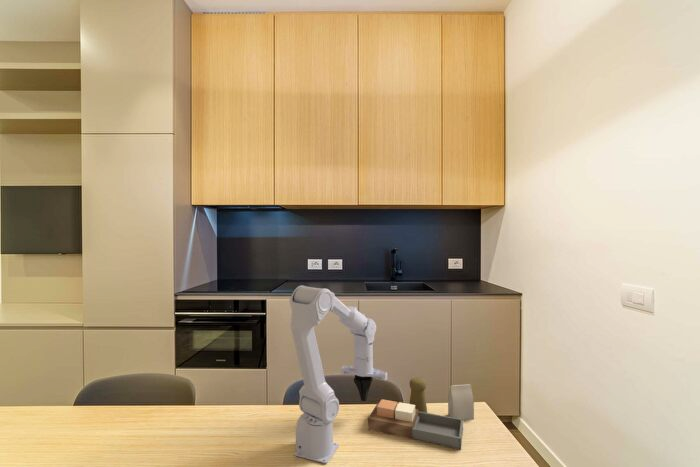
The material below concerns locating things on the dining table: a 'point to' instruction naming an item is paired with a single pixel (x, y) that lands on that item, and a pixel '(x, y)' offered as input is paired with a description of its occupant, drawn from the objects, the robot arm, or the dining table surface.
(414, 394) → the olive pepper mill
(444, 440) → the tray
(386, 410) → the terracotta tile
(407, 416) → the cream ceramic tile
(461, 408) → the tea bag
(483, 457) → the dining table surface
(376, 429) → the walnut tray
